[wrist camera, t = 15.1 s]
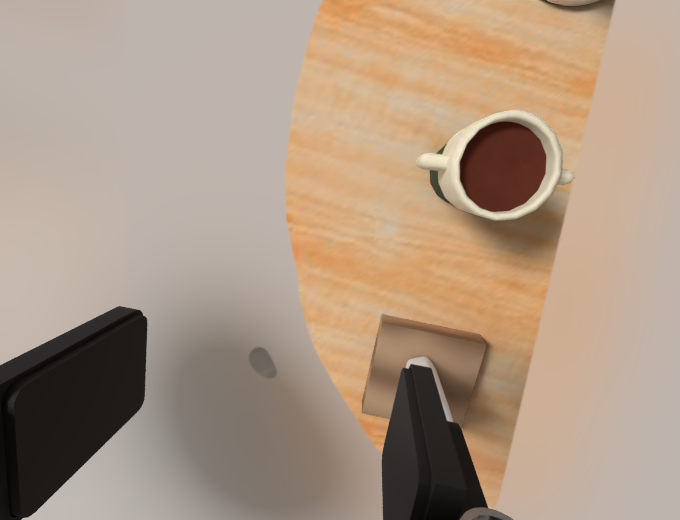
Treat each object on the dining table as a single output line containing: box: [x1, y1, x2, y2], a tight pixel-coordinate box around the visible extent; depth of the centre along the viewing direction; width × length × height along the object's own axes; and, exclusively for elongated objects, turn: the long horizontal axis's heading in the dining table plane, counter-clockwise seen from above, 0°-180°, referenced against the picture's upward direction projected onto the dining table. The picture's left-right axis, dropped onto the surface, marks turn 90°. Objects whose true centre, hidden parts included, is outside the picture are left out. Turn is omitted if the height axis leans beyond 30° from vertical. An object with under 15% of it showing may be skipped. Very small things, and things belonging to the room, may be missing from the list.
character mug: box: [416, 110, 575, 221], centre depth 30 cm, size 11×7×13 cm, turn 83°
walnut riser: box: [362, 314, 487, 428], centre depth 40 cm, size 11×11×2 cm
